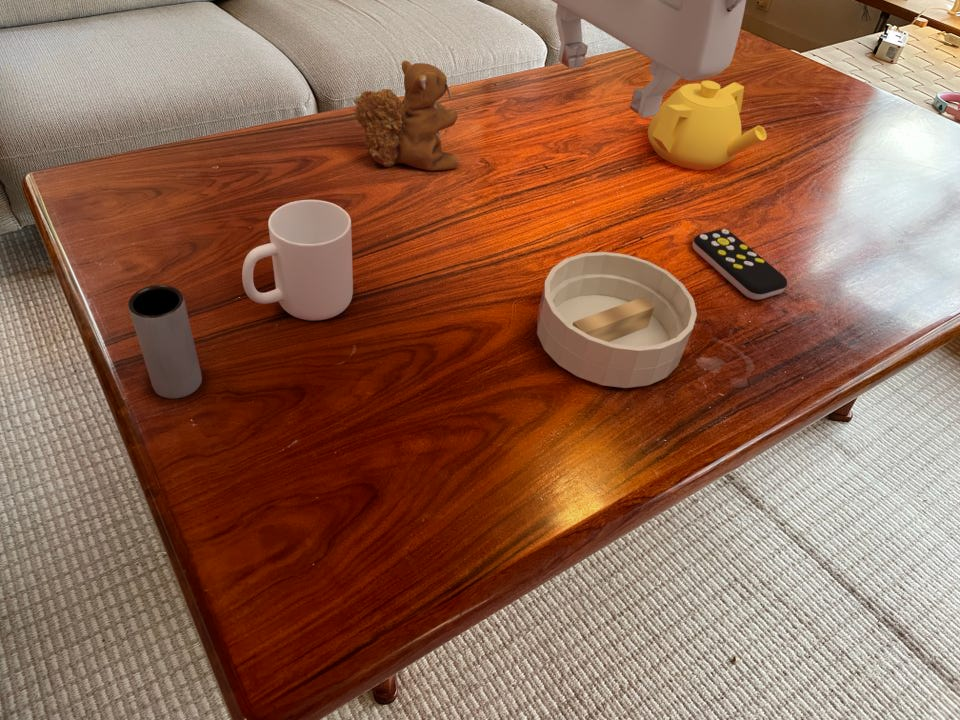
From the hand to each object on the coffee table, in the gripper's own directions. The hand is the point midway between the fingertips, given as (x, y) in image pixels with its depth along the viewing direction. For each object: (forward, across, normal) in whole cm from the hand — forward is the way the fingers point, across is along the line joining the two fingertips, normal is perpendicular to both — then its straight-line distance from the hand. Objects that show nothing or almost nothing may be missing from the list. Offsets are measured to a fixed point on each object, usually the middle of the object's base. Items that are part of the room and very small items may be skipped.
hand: (605, 88), depth 60 cm
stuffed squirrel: (+29, +42, -5) cm, 51 cm away
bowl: (+29, -2, -7) cm, 30 cm away
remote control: (+29, +1, -31) cm, 43 cm away
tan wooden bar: (+28, -2, -7) cm, 29 cm away
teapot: (+29, +25, -48) cm, 62 cm away
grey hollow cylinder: (+29, +12, +36) cm, 48 cm away
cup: (+29, +18, +21) cm, 40 cm away
